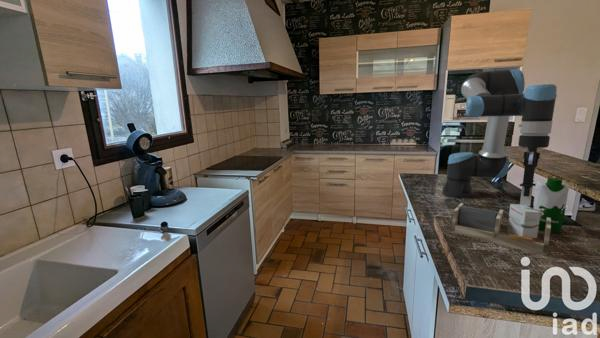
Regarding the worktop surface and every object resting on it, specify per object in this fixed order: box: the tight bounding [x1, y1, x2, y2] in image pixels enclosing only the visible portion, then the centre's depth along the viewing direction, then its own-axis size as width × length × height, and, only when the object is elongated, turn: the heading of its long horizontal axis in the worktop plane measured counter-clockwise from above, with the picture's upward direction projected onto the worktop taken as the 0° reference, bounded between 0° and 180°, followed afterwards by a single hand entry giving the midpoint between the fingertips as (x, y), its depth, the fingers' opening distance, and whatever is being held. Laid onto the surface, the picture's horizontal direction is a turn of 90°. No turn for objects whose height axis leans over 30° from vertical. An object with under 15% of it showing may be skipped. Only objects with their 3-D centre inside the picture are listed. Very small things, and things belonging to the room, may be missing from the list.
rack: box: [450, 202, 551, 257], centre depth 98 cm, size 12×27×9 cm, turn 48°
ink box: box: [507, 203, 541, 242], centre depth 93 cm, size 9×5×12 cm, turn 171°
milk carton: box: [532, 177, 570, 234], centre depth 104 cm, size 9×9×20 cm
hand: (525, 204), depth 92 cm, fingers closed
